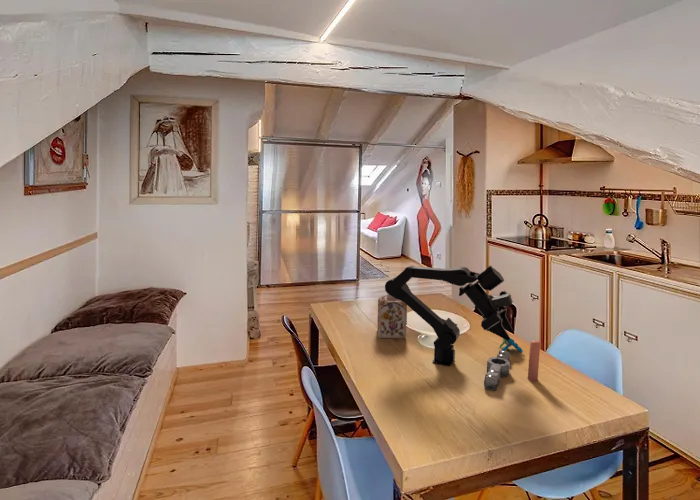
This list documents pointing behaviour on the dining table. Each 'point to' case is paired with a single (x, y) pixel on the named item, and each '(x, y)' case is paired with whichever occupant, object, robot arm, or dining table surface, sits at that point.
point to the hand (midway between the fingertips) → (510, 335)
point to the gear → (509, 343)
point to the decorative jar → (391, 317)
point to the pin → (533, 360)
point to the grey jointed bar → (497, 370)
